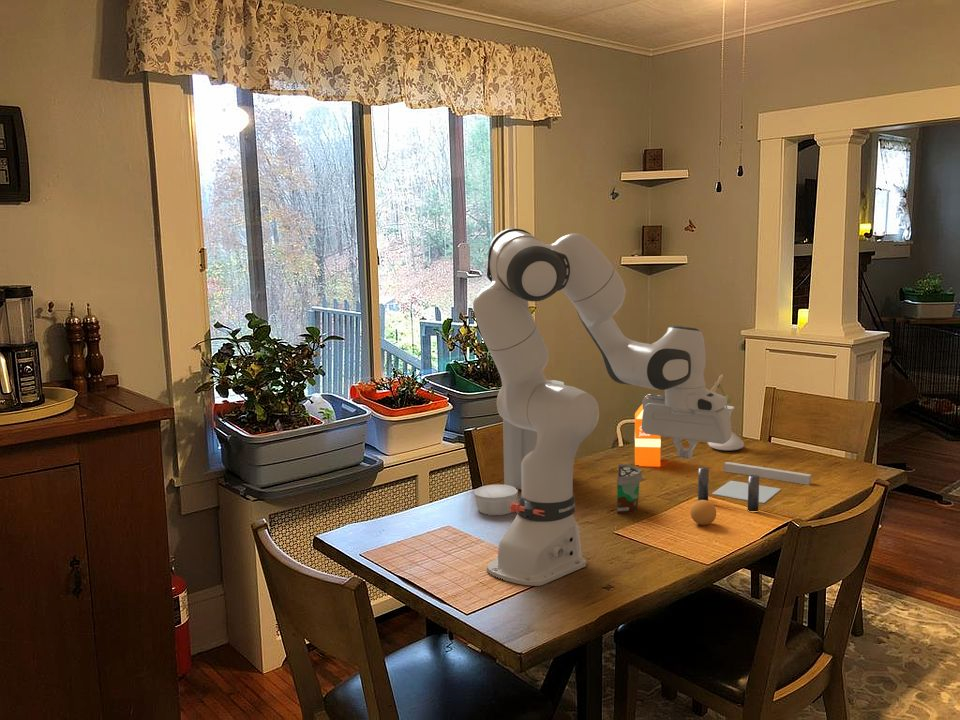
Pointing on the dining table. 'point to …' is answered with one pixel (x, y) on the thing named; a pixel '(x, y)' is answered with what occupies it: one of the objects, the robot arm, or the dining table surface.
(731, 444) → the flower in vase
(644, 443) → the orange juice
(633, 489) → the food container
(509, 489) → the ramekin
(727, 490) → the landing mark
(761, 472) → the wall
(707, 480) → the left post
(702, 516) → the ball
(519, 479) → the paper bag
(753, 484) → the right post
